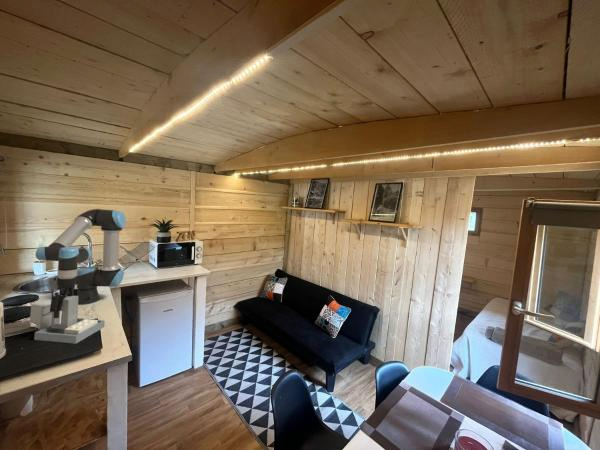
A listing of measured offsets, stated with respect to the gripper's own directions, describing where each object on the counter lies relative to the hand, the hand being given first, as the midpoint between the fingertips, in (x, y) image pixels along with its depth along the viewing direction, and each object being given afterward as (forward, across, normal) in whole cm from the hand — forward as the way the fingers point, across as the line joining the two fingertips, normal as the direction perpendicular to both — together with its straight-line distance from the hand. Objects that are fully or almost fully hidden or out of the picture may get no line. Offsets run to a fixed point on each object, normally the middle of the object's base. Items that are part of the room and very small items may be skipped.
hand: (64, 320), depth 130 cm
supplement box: (+7, -6, -17) cm, 19 cm away
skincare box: (+3, 0, 0) cm, 4 cm away
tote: (+7, 0, +4) cm, 8 cm away
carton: (+6, 0, +9) cm, 11 cm away
